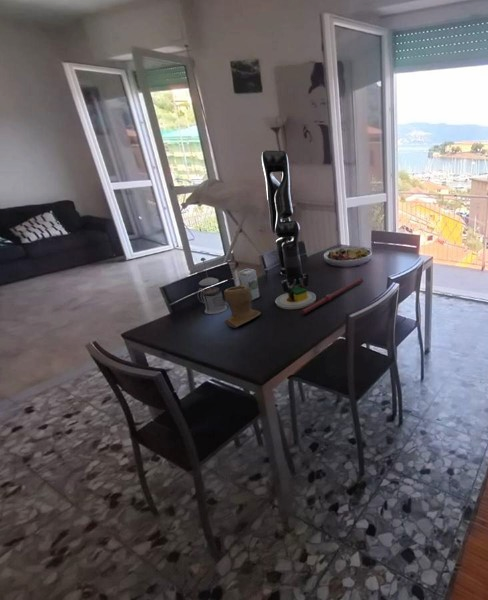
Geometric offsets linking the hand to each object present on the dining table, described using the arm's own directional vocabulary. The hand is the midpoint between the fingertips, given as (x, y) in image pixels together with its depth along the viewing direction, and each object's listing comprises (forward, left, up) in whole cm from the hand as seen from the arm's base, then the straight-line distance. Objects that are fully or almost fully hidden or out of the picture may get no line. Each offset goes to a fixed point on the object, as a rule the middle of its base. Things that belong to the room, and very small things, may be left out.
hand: (297, 297), depth 172 cm
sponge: (0, 0, 0) cm, 0 cm away
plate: (0, -1, -2) cm, 2 cm away
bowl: (-26, +56, -2) cm, 62 cm away
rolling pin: (+12, +14, -2) cm, 18 cm away
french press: (-21, -31, -2) cm, 38 cm away
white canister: (-20, -13, -2) cm, 24 cm away
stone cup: (-1, -28, -2) cm, 28 cm away
